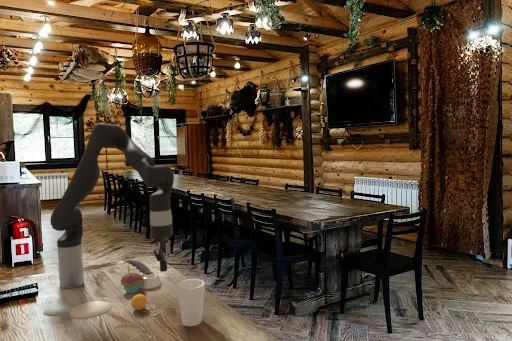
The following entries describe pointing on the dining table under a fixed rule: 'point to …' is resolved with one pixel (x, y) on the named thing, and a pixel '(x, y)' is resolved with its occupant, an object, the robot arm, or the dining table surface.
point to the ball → (139, 302)
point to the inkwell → (146, 275)
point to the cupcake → (131, 281)
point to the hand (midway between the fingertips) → (163, 270)
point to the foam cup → (191, 300)
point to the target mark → (90, 309)
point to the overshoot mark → (58, 309)
